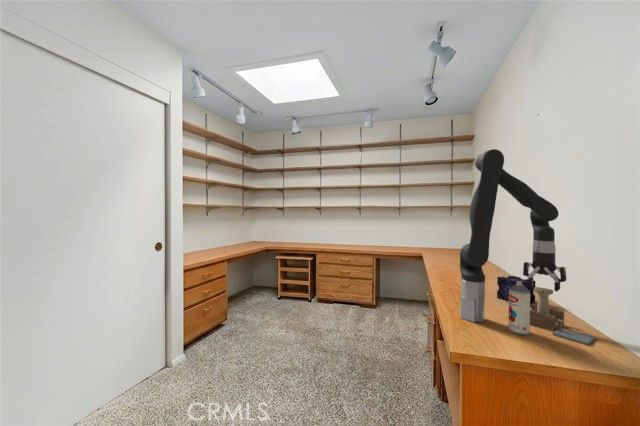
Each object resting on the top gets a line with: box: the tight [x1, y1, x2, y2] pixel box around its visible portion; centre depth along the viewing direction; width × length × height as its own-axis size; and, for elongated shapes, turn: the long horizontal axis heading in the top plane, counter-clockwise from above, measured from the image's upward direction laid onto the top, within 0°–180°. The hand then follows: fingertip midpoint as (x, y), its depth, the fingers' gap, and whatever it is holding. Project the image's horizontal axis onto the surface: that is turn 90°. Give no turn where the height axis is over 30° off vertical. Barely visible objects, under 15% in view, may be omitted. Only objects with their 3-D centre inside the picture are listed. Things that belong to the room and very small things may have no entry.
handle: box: [534, 286, 554, 314], centre depth 115 cm, size 5×6×15 cm
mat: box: [552, 326, 596, 346], centre depth 103 cm, size 10×10×1 cm
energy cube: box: [496, 275, 536, 305], centre depth 146 cm, size 12×12×12 cm
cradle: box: [530, 303, 565, 333], centre depth 115 cm, size 12×11×6 cm
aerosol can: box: [507, 281, 531, 336], centre depth 107 cm, size 7×7×20 cm
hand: (543, 288), depth 115 cm, fingers open, 8 cm apart
